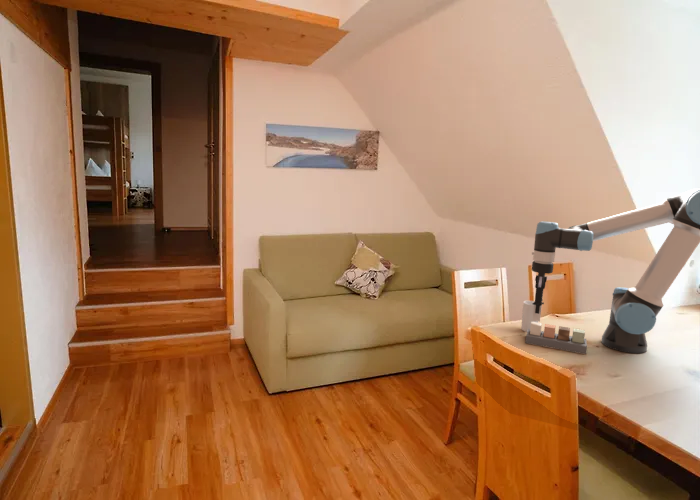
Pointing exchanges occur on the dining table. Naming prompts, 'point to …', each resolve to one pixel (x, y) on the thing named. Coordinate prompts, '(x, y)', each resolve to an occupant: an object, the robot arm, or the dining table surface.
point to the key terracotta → (549, 331)
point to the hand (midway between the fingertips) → (536, 320)
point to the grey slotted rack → (556, 342)
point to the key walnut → (563, 333)
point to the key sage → (578, 335)
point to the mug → (527, 315)
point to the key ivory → (535, 328)
